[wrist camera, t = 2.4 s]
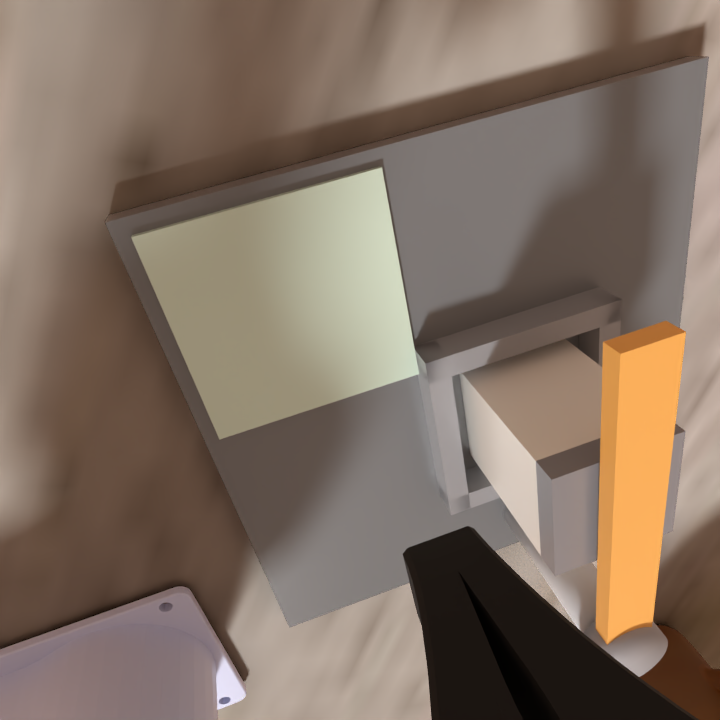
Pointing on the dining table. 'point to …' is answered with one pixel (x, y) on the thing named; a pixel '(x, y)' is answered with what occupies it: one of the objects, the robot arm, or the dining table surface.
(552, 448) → the plug
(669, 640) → the mug
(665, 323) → the orange flat bar
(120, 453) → the dining table surface
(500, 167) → the socket board
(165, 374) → the dining table surface
